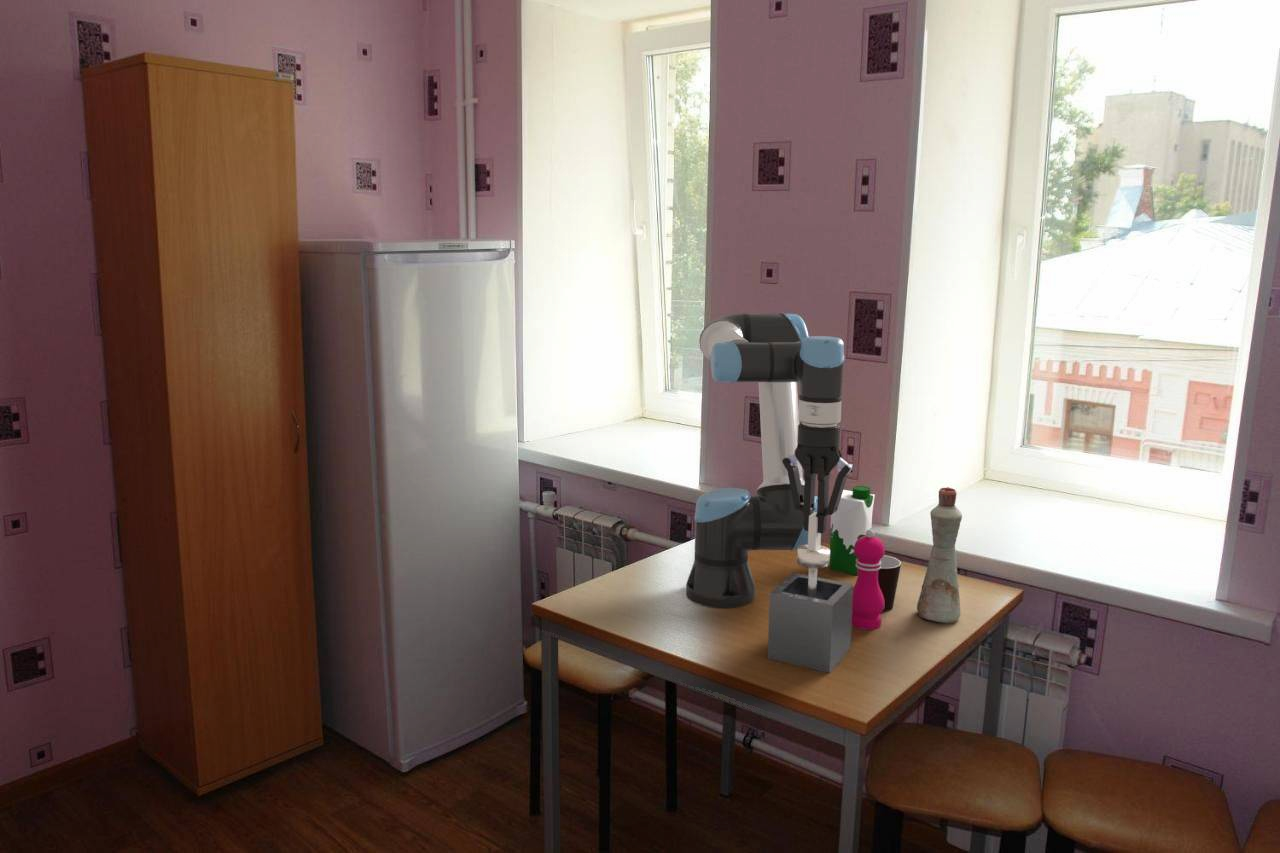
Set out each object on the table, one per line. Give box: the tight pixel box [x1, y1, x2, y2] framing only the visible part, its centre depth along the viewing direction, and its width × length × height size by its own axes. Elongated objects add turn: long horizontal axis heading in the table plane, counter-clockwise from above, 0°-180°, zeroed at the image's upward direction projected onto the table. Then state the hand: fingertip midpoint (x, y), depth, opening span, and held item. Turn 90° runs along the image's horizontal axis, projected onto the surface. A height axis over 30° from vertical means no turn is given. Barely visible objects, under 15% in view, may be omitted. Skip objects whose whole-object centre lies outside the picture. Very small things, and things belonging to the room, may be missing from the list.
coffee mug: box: [878, 554, 902, 613], centre depth 202 cm, size 12×9×10 cm
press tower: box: [767, 572, 855, 674], centre depth 177 cm, size 12×12×13 cm
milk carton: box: [828, 485, 876, 576], centre depth 222 cm, size 9×9×20 cm
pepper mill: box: [851, 528, 886, 631], centre depth 190 cm, size 7×7×20 cm
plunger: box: [796, 544, 830, 598], centre depth 176 cm, size 8×8×15 cm
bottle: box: [916, 486, 963, 625], centre depth 193 cm, size 9×9×28 cm
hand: (814, 548), depth 174 cm, fingers closed
